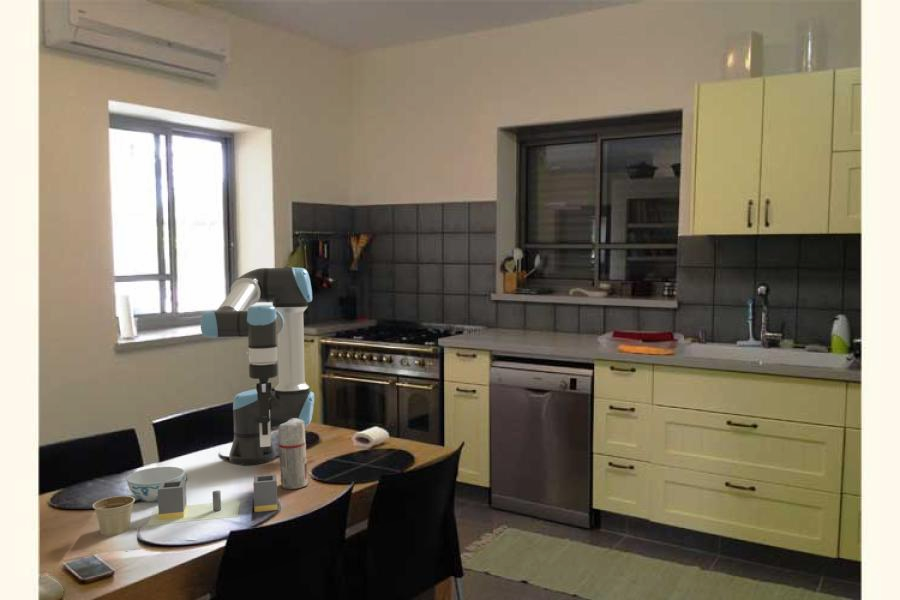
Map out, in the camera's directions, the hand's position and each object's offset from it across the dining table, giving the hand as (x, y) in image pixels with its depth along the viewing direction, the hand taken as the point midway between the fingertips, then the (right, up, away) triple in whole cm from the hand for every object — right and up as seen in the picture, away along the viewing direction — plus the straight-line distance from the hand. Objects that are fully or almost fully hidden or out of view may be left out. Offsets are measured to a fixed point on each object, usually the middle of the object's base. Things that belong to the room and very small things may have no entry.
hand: (265, 439), depth 189 cm
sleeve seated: (-22, -18, -7) cm, 30 cm away
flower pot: (-33, -21, -17) cm, 42 cm away
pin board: (-17, -19, -6) cm, 26 cm away
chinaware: (-32, -19, +7) cm, 38 cm away
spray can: (+4, -18, +19) cm, 26 cm away
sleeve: (0, -19, +1) cm, 19 cm away
